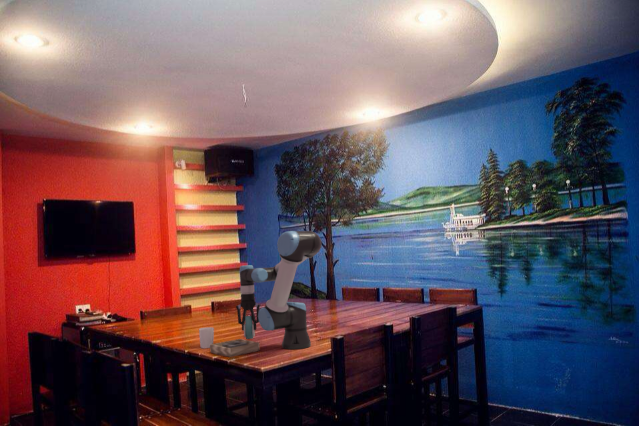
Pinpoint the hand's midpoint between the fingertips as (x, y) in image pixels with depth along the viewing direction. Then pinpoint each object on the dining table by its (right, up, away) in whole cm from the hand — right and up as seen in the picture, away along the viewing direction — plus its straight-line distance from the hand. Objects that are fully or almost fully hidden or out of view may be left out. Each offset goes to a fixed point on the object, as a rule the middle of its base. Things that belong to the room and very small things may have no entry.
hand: (249, 336), depth 257 cm
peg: (0, -1, 0) cm, 1 cm away
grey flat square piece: (-5, -3, -17) cm, 18 cm away
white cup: (-23, -6, -2) cm, 24 cm away
